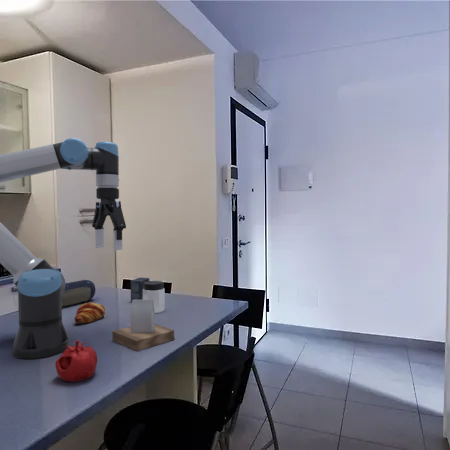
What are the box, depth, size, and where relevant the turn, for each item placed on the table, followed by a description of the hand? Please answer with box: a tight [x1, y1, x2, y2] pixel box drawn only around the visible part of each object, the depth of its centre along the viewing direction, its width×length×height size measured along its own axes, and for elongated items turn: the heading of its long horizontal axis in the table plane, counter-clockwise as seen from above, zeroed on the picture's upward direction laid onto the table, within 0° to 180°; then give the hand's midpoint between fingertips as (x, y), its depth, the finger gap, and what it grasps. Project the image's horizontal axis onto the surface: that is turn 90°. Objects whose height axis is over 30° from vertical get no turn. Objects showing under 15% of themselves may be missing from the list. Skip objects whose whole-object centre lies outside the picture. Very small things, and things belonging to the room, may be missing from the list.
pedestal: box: [112, 323, 175, 352], centre depth 122 cm, size 14×14×3 cm
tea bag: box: [130, 300, 156, 333], centre depth 122 cm, size 4×7×10 cm, turn 86°
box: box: [130, 277, 150, 304], centre depth 176 cm, size 8×6×11 cm
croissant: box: [74, 302, 106, 324], centre depth 148 cm, size 21×10×8 cm, turn 173°
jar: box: [143, 280, 166, 314], centre depth 159 cm, size 9×8×12 cm
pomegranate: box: [54, 339, 98, 383], centre depth 95 cm, size 10×10×9 cm
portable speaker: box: [62, 279, 96, 308], centre depth 171 cm, size 25×10×10 cm, turn 149°
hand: (108, 248), depth 132 cm, fingers open, 13 cm apart
